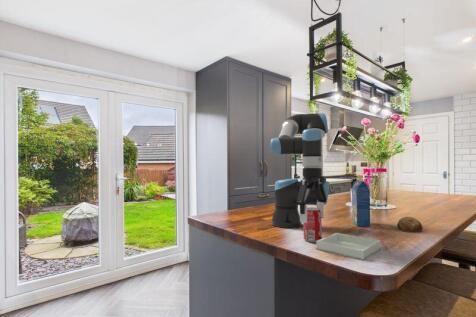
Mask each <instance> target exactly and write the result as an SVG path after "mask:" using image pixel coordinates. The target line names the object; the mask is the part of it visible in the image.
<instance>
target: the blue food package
mask: <svg viewBox="0 0 476 317" xmlns="http://www.w3.org/2000/svg"><path fill="white" fill-rule="evenodd" d="M370 200H371V194H370V188H369V186H368V185H367V184H366V183H365V182H364V176H363V175H360V174H357V180H356V181H355V182H354V183H353V184H352V188H351V206H352V207H351V215H352V216H351V220H352V223H353V224H354V225H355V226H356V227H362V228H363V227H364V228H365V227H366V228H370V227H371V202H370Z"/></svg>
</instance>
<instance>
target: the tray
mask: <svg viewBox="0 0 476 317" xmlns="http://www.w3.org/2000/svg"><path fill="white" fill-rule="evenodd" d="M315 246H316V248H315V249H316V250H317V251H322V252H326V253H330V254H334V255H338V256H339V255H340V256H343V257H348V258H351V259H352V258H353V259H356V260H361V261H365V260H366V259H368V258H369V257H370V256H372V255H374V254H375V253H376V252H378V251H379V250H381V240H380V239H379V240H378V239H373V238H368V237H363V236H362V237H361V236H358V235H352V234H346V233H340V232H334V233H333V234H330V235H327V236H326V237H323V238H322V239H320V240H318V241H316V245H315Z"/></svg>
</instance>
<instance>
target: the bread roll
mask: <svg viewBox="0 0 476 317" xmlns="http://www.w3.org/2000/svg"><path fill="white" fill-rule="evenodd" d="M423 229H424V228H423V225H422V222H421V221H419V219H417V218H414V217H412V216H405V217H402V218H400V219H399V221H397V230H399V231H401V232H404V233H405V232H406V233H412V232H413V233H415V234H417V233H422V231H423ZM416 232H417V233H416Z"/></svg>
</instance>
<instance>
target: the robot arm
mask: <svg viewBox="0 0 476 317" xmlns="http://www.w3.org/2000/svg"><path fill="white" fill-rule="evenodd" d="M328 129H329V126H328V120H327V115H326V113H324V112H321V113H320V112H315V113H299V114H293V115H290V116H289V117H287V118H286V119H284V121H283V122H282V123H281V126H280V130H281V131H280V133H279V135H278V137H274V138H273V137H272V138H271V140H270V153H271V154H273V155H281V156H282V155H302V167H303V168H302V179H300V180H299V179H298V178H287V179H286V178H285V179H279V180H277V181H275V184H274V212H273V214H272V217H271V226H274V227H276V228H277V227H278V228H282V229H283V228H284V229H285V228H286V229H294V228H300V227H303V223H307V208H308V206H316V208H320V211H321V219H324V218H325V211H324V209H325V207H324V206H325V205H327V203H328V200H329V189H330V181H327V178H326V176H324V163H323V162H324V160H323V159H324V156H323V155H324V154H323V153H324V152H323V148H324V147H323V139H324V138H325V136H326V134H328V132H329V130H328ZM296 135H302V136H301V137H295V136H296Z"/></svg>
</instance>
